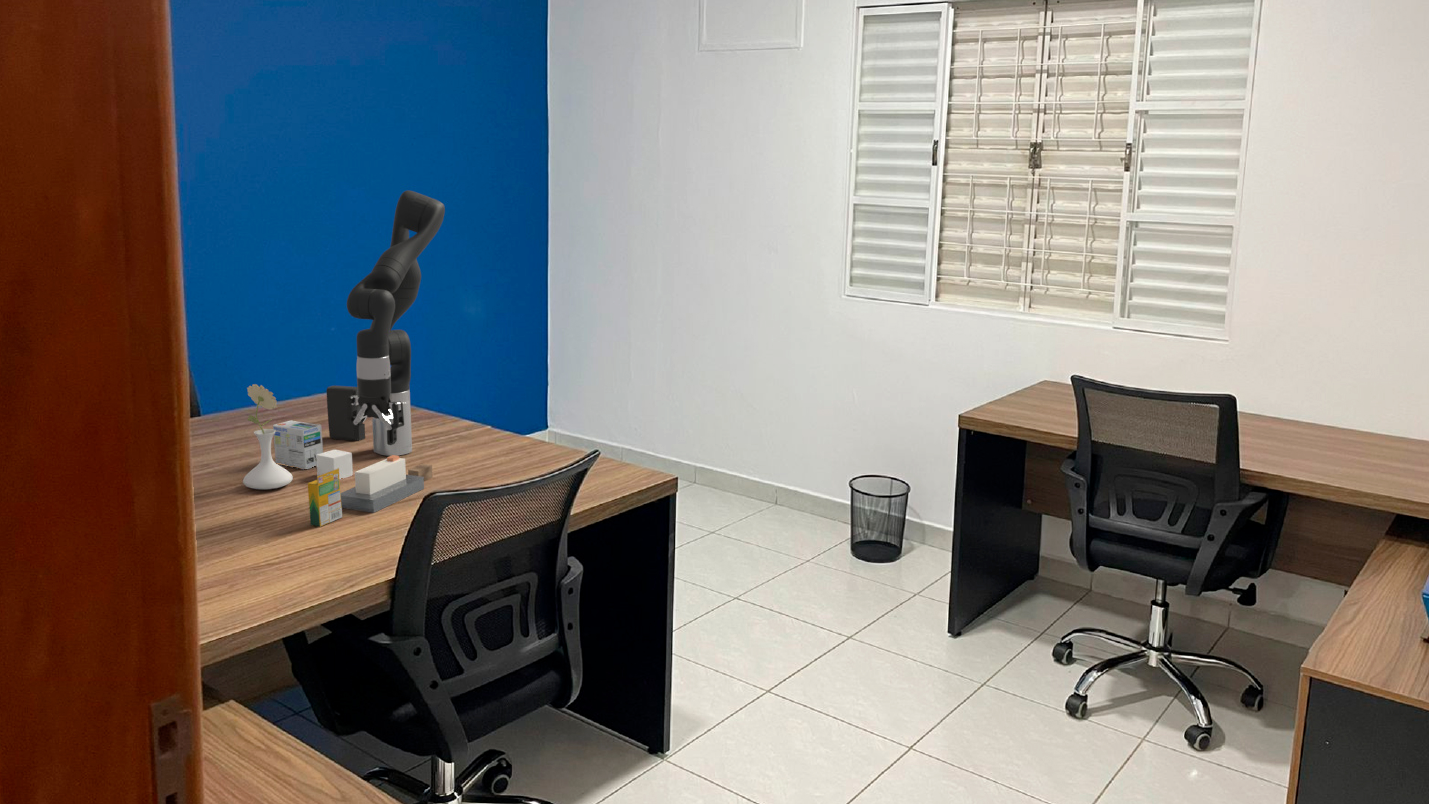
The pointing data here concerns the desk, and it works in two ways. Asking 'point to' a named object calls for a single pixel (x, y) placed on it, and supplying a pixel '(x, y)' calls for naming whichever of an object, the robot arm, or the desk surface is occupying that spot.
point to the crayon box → (325, 499)
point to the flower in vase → (265, 447)
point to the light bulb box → (297, 443)
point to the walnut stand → (421, 471)
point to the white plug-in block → (380, 475)
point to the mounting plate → (382, 495)
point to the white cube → (335, 463)
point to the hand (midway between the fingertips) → (376, 442)
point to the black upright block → (340, 412)
